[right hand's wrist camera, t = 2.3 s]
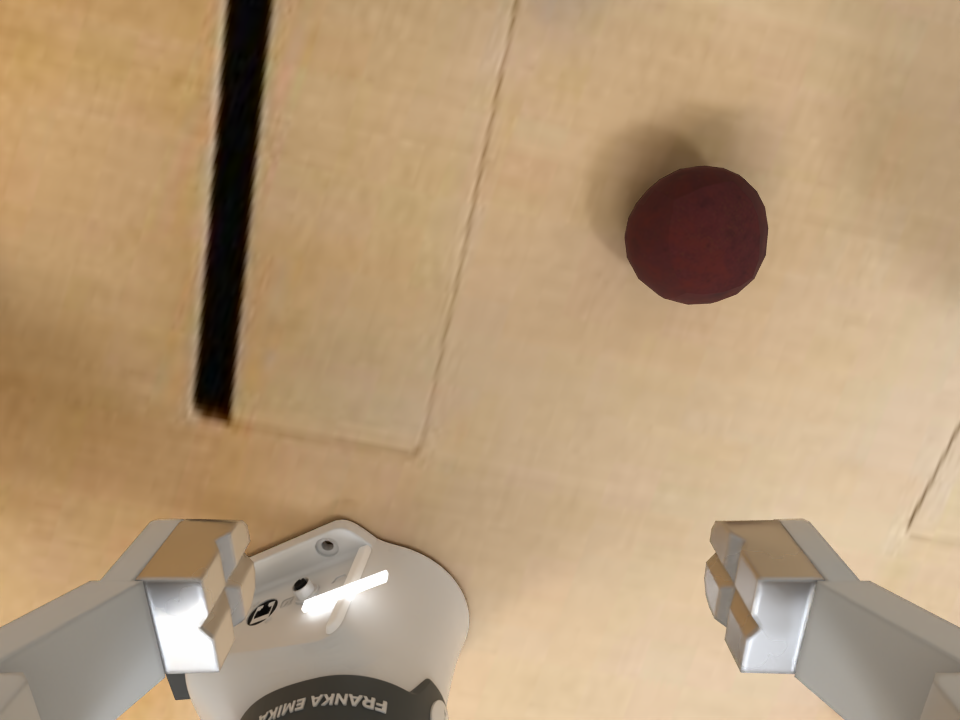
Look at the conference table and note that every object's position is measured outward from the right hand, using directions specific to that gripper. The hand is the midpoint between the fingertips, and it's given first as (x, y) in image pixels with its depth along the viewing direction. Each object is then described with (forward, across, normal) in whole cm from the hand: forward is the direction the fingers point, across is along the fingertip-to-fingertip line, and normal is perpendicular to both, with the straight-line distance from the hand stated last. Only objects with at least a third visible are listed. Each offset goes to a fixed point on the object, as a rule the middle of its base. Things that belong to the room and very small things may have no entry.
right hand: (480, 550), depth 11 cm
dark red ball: (+29, -12, -1) cm, 31 cm away
